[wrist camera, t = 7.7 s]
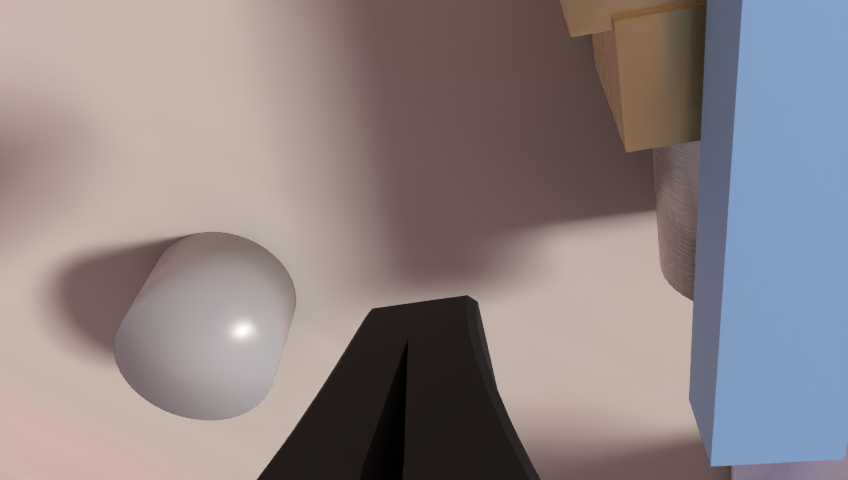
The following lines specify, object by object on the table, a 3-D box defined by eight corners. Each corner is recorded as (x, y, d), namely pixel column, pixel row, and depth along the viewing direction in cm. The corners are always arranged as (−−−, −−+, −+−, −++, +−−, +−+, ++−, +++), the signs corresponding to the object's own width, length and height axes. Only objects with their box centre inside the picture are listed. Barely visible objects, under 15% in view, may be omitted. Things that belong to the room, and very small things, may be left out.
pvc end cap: (313, 336, 23) (294, 410, 21) (185, 353, 24) (151, 428, 21) (270, 220, 21) (243, 287, 19) (131, 243, 22) (86, 311, 19)
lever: (954, -482, 10) (1084, -537, 8) (820, 370, 17) (867, 458, 15) (680, -430, 10) (733, -470, 8) (663, 380, 17) (689, 467, 15)
